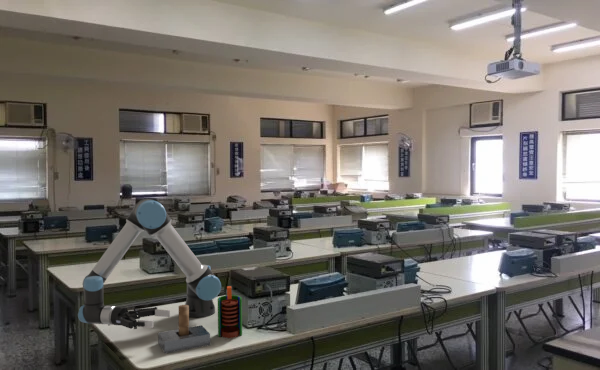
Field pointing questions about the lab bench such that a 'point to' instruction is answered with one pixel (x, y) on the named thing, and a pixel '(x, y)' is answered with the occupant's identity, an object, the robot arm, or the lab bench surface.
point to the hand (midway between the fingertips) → (161, 318)
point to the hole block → (183, 339)
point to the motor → (229, 315)
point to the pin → (183, 320)
